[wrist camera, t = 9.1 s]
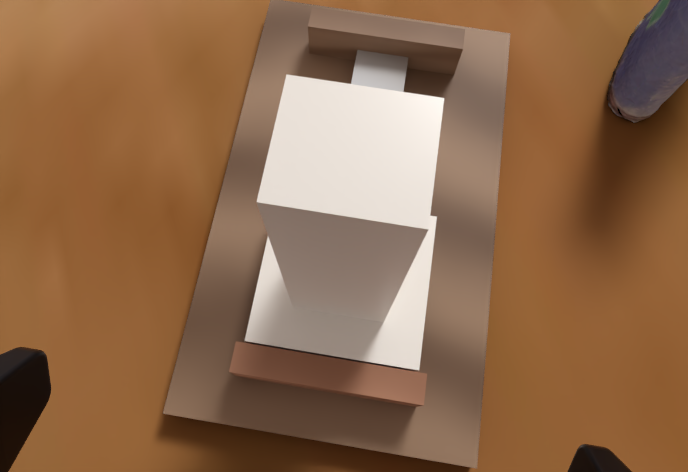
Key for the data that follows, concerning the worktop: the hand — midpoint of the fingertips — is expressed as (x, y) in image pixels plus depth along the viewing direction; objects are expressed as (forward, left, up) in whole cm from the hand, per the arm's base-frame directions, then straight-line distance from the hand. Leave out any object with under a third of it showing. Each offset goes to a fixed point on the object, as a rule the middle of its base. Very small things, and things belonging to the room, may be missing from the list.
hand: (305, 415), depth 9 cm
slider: (+3, -4, -11) cm, 12 cm away
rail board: (+5, -8, -13) cm, 16 cm away
